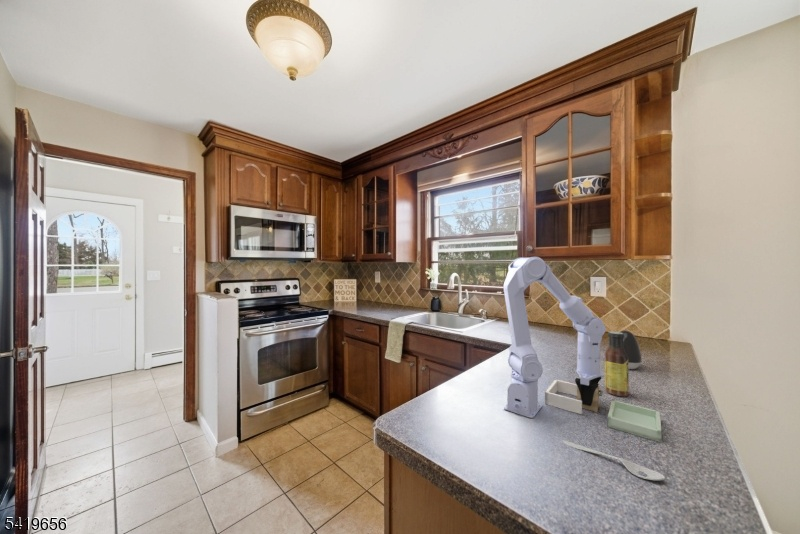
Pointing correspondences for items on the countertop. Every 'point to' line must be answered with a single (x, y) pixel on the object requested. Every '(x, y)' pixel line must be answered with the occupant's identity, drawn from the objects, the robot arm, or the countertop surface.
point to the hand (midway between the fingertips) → (588, 401)
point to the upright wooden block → (594, 403)
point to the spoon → (629, 465)
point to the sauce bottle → (616, 366)
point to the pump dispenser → (631, 350)
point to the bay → (563, 401)
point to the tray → (635, 420)
